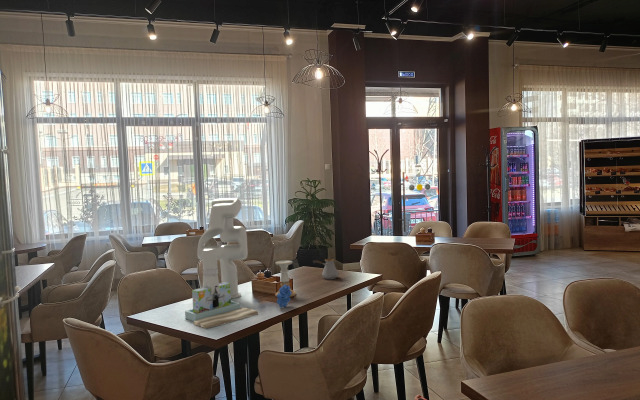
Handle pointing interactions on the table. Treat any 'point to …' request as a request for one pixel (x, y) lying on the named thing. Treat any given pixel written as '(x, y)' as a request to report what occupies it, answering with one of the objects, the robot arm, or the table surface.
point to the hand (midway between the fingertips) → (212, 305)
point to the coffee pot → (329, 269)
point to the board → (225, 317)
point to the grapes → (283, 296)
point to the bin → (211, 312)
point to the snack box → (210, 298)
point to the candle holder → (284, 275)
